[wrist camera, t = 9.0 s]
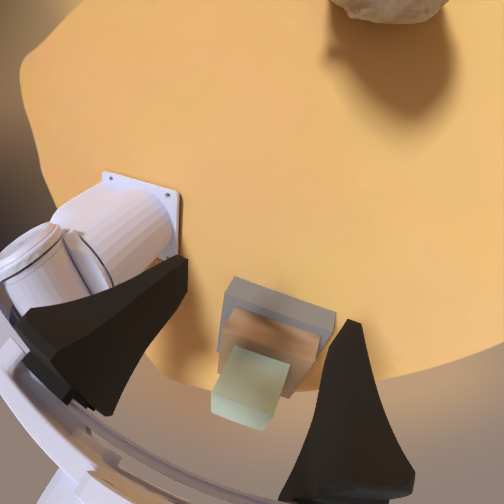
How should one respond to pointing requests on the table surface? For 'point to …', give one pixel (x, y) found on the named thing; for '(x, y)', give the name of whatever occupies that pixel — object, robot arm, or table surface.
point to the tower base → (277, 309)
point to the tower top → (270, 344)
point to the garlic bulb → (391, 10)
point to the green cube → (249, 388)
